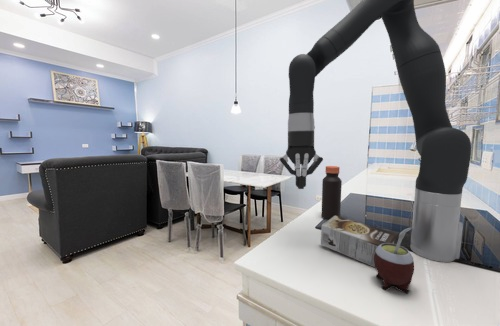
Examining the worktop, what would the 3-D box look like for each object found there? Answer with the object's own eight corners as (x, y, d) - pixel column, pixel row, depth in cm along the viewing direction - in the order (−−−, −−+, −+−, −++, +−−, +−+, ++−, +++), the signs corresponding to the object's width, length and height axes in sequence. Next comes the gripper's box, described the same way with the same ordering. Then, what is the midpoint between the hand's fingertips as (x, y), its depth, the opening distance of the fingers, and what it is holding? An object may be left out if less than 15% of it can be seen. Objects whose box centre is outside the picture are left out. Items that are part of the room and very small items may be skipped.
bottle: (343, 219, 83) (346, 167, 81) (331, 222, 80) (334, 168, 78) (329, 213, 89) (331, 165, 87) (317, 217, 86) (319, 166, 84)
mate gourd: (383, 270, 51) (387, 208, 49) (423, 290, 44) (430, 219, 43) (364, 281, 47) (368, 214, 46) (405, 305, 41) (412, 227, 39)
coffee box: (334, 214, 67) (397, 232, 56) (333, 233, 68) (394, 255, 57) (321, 224, 60) (388, 247, 49) (319, 245, 62) (385, 272, 51)
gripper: (320, 130, 67) (319, 185, 69) (277, 131, 68) (277, 186, 70) (327, 128, 60) (326, 191, 61) (279, 130, 60) (279, 191, 62)
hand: (300, 188), depth 66 cm, fingers closed
